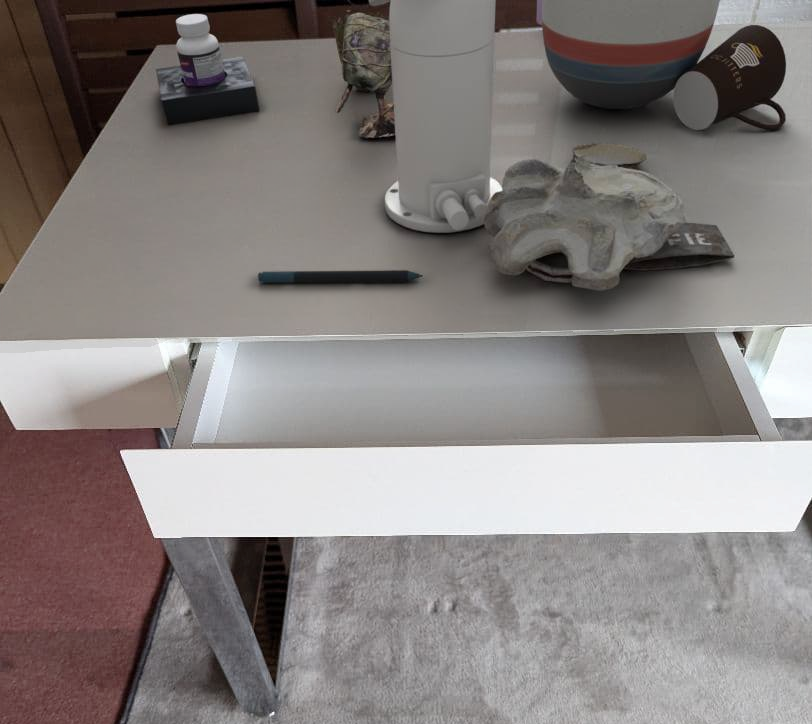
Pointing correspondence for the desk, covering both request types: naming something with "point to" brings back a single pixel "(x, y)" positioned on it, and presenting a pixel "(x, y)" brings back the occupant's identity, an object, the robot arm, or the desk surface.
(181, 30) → the pill bottle
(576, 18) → the planter
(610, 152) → the seashell
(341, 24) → the green rounded lump
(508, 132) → the desk surface
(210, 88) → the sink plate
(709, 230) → the dark snack bar packet
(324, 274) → the pen
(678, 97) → the coffee mug
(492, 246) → the fossil
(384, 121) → the plant with pod
